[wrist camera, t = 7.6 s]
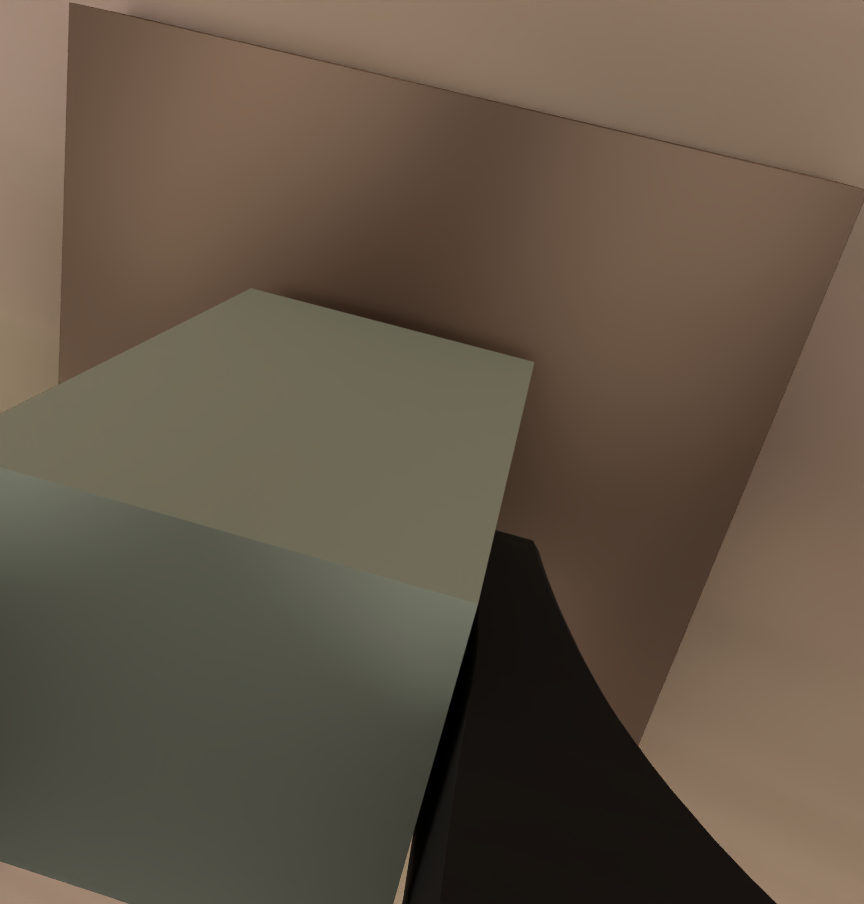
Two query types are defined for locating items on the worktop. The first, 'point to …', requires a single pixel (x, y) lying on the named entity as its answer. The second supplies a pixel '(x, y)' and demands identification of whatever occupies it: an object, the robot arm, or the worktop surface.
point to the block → (243, 601)
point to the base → (469, 284)
